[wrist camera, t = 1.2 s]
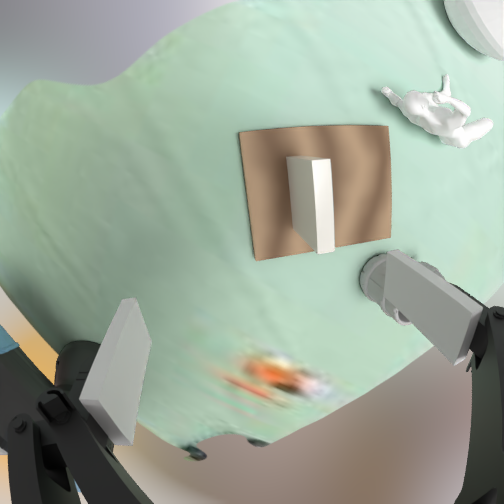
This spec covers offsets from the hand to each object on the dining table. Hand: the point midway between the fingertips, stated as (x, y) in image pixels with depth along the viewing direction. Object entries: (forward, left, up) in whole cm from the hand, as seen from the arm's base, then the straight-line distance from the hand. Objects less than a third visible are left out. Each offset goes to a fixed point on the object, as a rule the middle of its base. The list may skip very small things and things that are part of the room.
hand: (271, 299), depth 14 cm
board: (+12, +1, -23) cm, 26 cm away
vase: (+47, +33, -23) cm, 62 cm away
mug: (+23, -13, -23) cm, 35 cm away
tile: (+8, +1, -22) cm, 23 cm away
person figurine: (+30, +11, -23) cm, 39 cm away
